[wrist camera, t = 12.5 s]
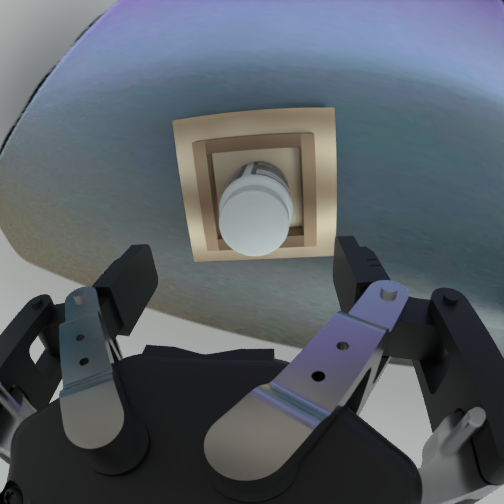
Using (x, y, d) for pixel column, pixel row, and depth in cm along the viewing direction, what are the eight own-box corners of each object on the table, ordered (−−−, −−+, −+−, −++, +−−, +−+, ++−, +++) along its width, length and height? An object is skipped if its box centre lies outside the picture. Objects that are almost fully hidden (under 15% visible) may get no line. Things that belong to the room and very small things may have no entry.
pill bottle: (242, 222, 25) (229, 272, 18) (222, 171, 23) (197, 200, 16) (296, 205, 24) (305, 250, 17) (278, 152, 22) (280, 172, 15)
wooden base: (183, 119, 24) (163, 121, 20) (327, 108, 23) (339, 107, 18) (201, 247, 30) (189, 272, 26) (329, 241, 29) (339, 266, 24)
